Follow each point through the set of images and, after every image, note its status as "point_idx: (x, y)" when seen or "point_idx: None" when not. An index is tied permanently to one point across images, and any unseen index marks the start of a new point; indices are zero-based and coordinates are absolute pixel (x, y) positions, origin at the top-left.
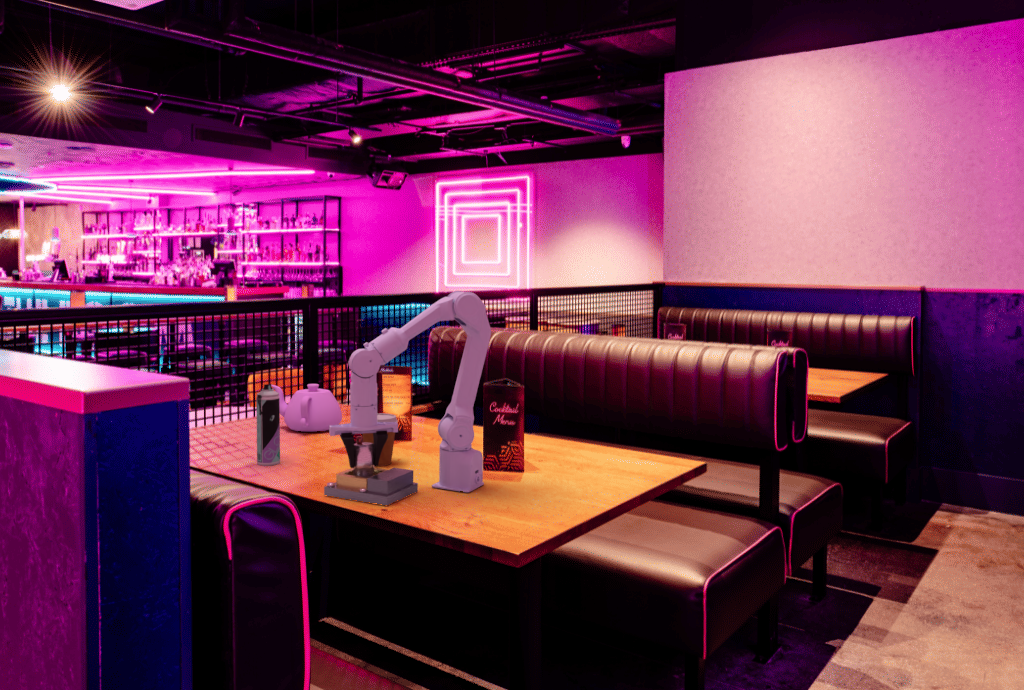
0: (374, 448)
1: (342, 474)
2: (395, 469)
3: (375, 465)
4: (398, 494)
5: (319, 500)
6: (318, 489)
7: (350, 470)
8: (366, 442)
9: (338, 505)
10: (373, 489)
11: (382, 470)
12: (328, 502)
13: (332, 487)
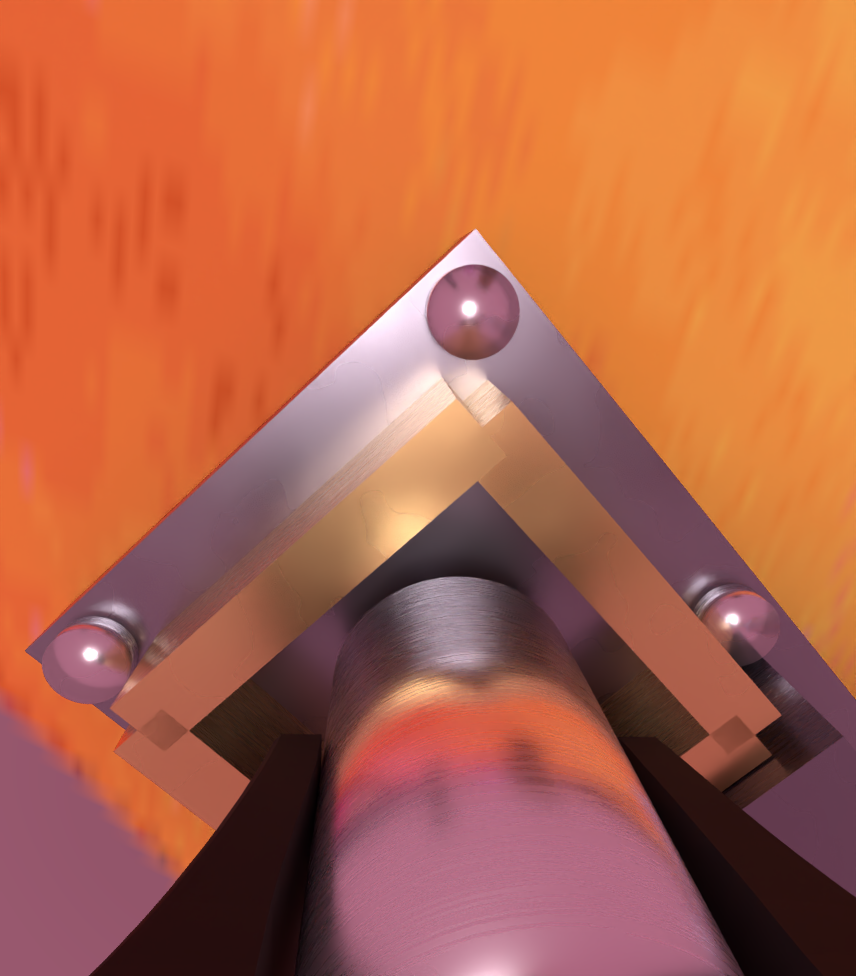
0: (748, 960)
1: (185, 754)
2: (818, 819)
3: None
4: None
5: (24, 715)
6: (14, 366)
7: (311, 606)
8: (677, 951)
9: (175, 868)
10: None
11: (690, 713)
12: (101, 783)
13: (112, 698)
